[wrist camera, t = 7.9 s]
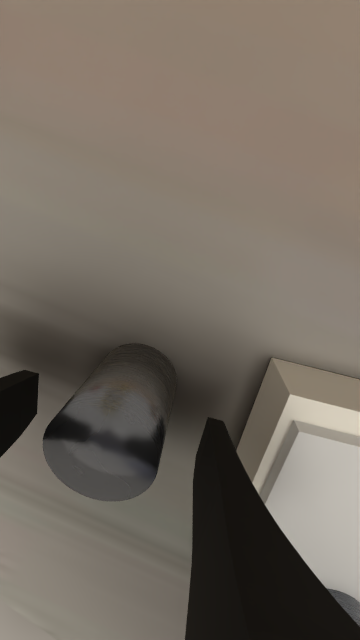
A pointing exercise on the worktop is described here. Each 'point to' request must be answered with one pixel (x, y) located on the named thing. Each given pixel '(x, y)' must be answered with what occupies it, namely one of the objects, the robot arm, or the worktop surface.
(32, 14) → the worktop surface
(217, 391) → the worktop surface
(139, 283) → the worktop surface
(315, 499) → the kitchen scale
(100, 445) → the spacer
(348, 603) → the cylinder
